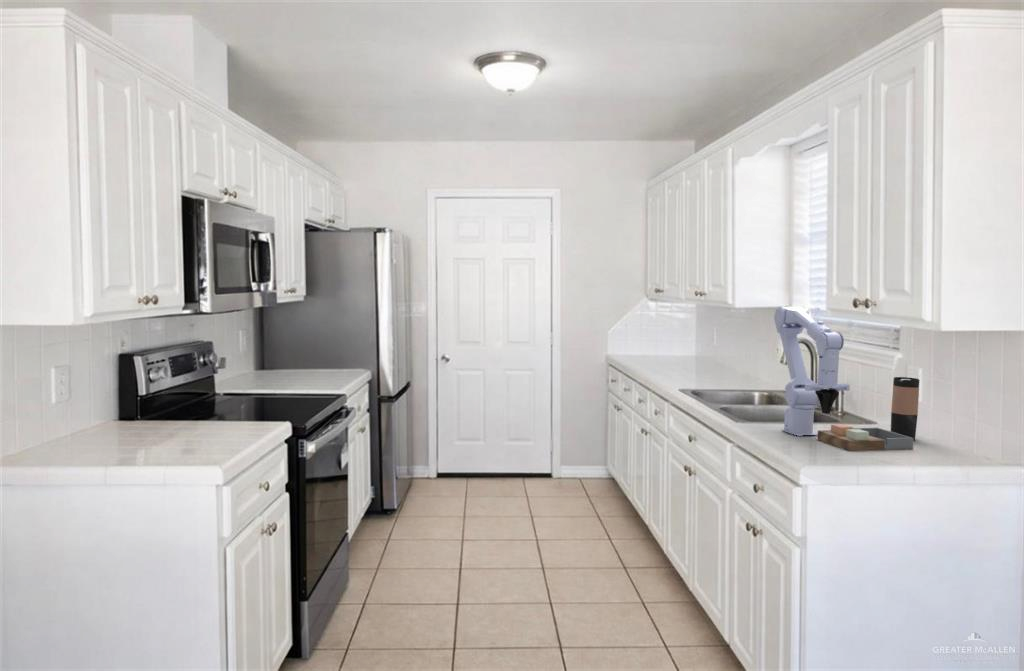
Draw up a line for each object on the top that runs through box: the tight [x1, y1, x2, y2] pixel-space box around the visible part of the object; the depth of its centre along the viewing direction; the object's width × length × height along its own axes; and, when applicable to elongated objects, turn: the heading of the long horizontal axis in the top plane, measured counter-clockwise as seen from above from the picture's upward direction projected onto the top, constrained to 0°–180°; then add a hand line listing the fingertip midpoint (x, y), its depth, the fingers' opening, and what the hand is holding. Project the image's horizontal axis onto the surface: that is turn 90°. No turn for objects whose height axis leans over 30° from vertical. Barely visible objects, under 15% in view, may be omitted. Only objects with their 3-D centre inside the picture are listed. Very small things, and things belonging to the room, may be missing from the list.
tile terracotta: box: [830, 423, 854, 435], centre depth 233 cm, size 4×4×2 cm
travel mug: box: [890, 376, 920, 442], centre depth 241 cm, size 8×8×20 cm
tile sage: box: [846, 429, 869, 440], centre depth 226 cm, size 4×4×2 cm
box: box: [853, 427, 914, 451], centre depth 233 cm, size 16×10×4 cm, turn 12°
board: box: [817, 429, 885, 452], centre depth 230 cm, size 16×12×3 cm
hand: (825, 413), depth 231 cm, fingers closed
